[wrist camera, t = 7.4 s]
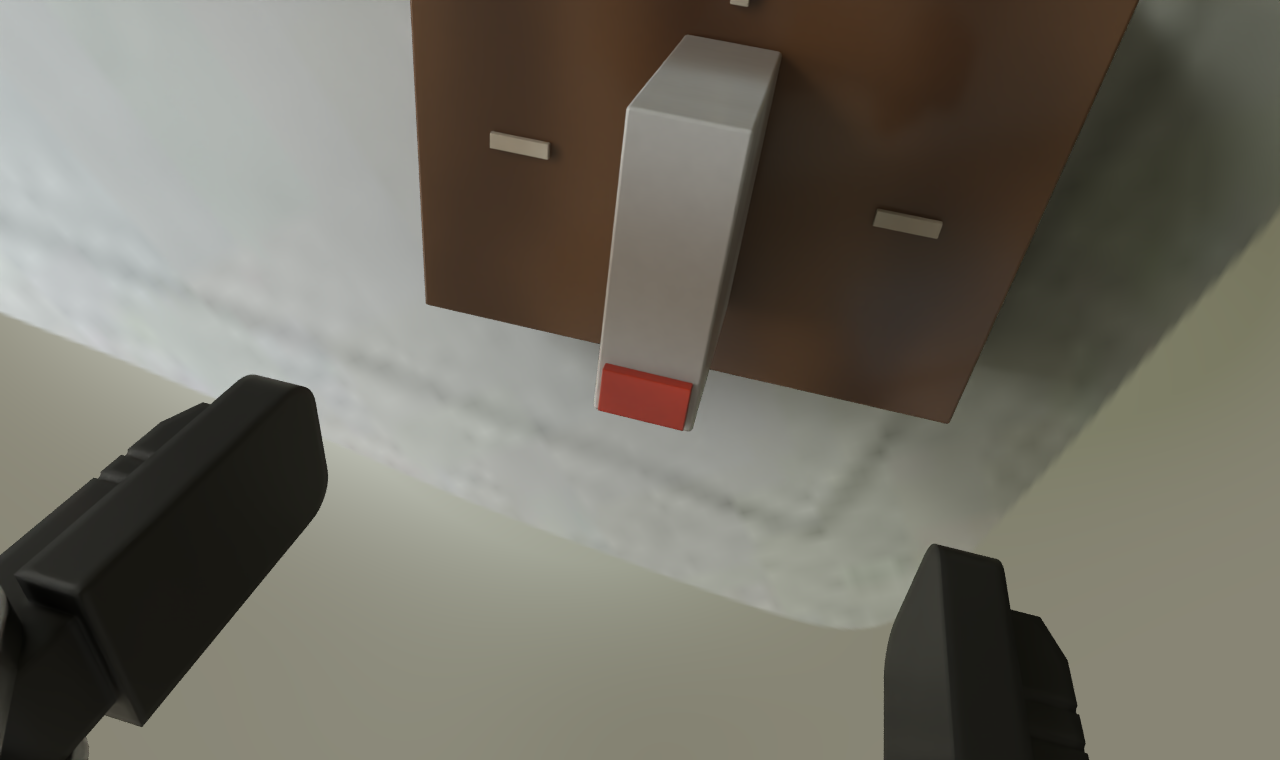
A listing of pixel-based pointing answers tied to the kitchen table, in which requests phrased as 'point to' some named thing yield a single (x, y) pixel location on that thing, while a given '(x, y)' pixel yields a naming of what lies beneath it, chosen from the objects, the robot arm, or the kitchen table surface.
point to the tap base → (766, 170)
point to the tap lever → (680, 225)
